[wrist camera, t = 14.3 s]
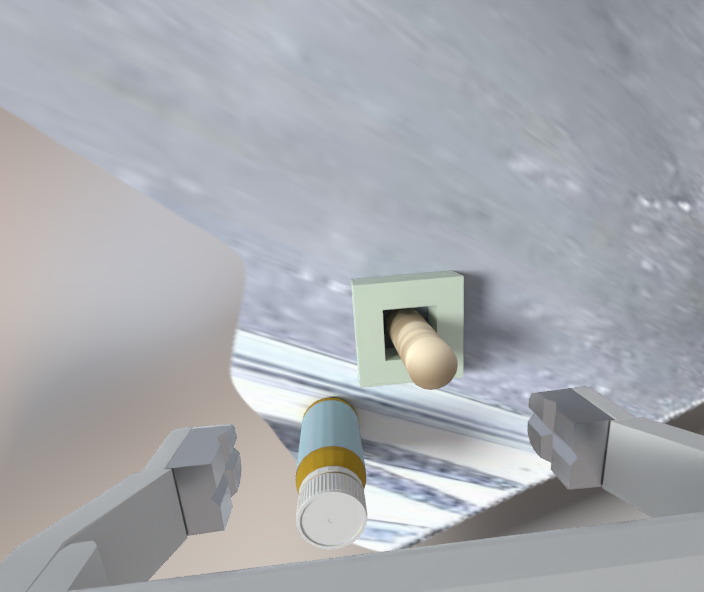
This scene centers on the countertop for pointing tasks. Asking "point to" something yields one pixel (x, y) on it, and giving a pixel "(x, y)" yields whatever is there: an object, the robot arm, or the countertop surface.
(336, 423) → the bottle
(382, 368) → the socket
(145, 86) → the countertop surface
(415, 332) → the peg
